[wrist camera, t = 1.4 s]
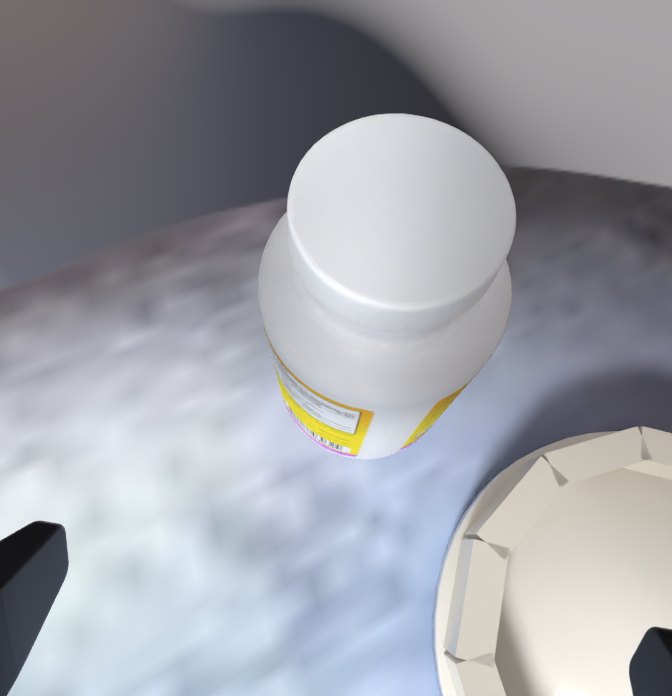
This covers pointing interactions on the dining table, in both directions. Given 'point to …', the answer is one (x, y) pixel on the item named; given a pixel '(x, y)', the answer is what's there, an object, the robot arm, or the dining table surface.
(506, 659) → the ring tray
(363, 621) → the dining table surface
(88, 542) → the dining table surface
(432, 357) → the supplement bottle
